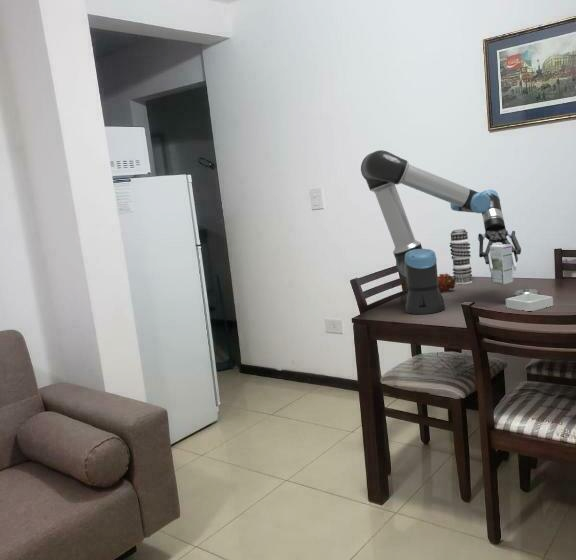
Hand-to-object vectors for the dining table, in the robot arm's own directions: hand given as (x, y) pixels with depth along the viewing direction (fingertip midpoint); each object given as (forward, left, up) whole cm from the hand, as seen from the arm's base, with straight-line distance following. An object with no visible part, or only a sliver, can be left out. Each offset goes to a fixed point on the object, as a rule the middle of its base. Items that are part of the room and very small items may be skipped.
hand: (503, 269), depth 207 cm
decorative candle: (+21, +49, -14) cm, 55 cm away
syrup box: (+2, +3, -6) cm, 7 cm away
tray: (+2, -9, -14) cm, 16 cm away
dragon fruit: (+4, +42, -14) cm, 44 cm away
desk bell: (+13, +3, -14) cm, 19 cm away
